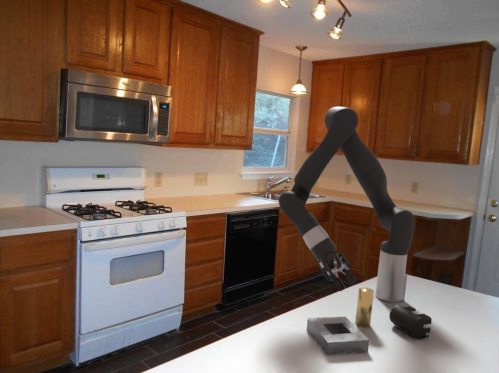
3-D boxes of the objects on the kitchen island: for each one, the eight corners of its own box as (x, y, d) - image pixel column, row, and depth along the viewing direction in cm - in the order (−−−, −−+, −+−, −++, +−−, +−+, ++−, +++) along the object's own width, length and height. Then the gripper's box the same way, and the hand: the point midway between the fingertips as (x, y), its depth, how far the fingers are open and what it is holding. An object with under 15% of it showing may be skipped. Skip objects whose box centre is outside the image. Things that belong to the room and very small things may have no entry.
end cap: (387, 326, 125) (390, 305, 124) (405, 323, 128) (407, 302, 127) (412, 341, 116) (415, 319, 115) (430, 338, 119) (433, 316, 118)
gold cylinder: (365, 320, 128) (369, 287, 126) (372, 327, 123) (376, 292, 122) (352, 321, 127) (356, 287, 125) (359, 327, 122) (363, 293, 121)
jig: (344, 327, 122) (345, 316, 121) (368, 352, 108) (369, 339, 108) (306, 329, 119) (307, 318, 119) (326, 355, 105) (327, 342, 105)
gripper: (317, 240, 125) (348, 286, 119) (336, 233, 136) (366, 275, 131) (300, 253, 128) (330, 298, 123) (321, 245, 140) (349, 286, 134)
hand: (348, 286), depth 127 cm, fingers open, 8 cm apart
